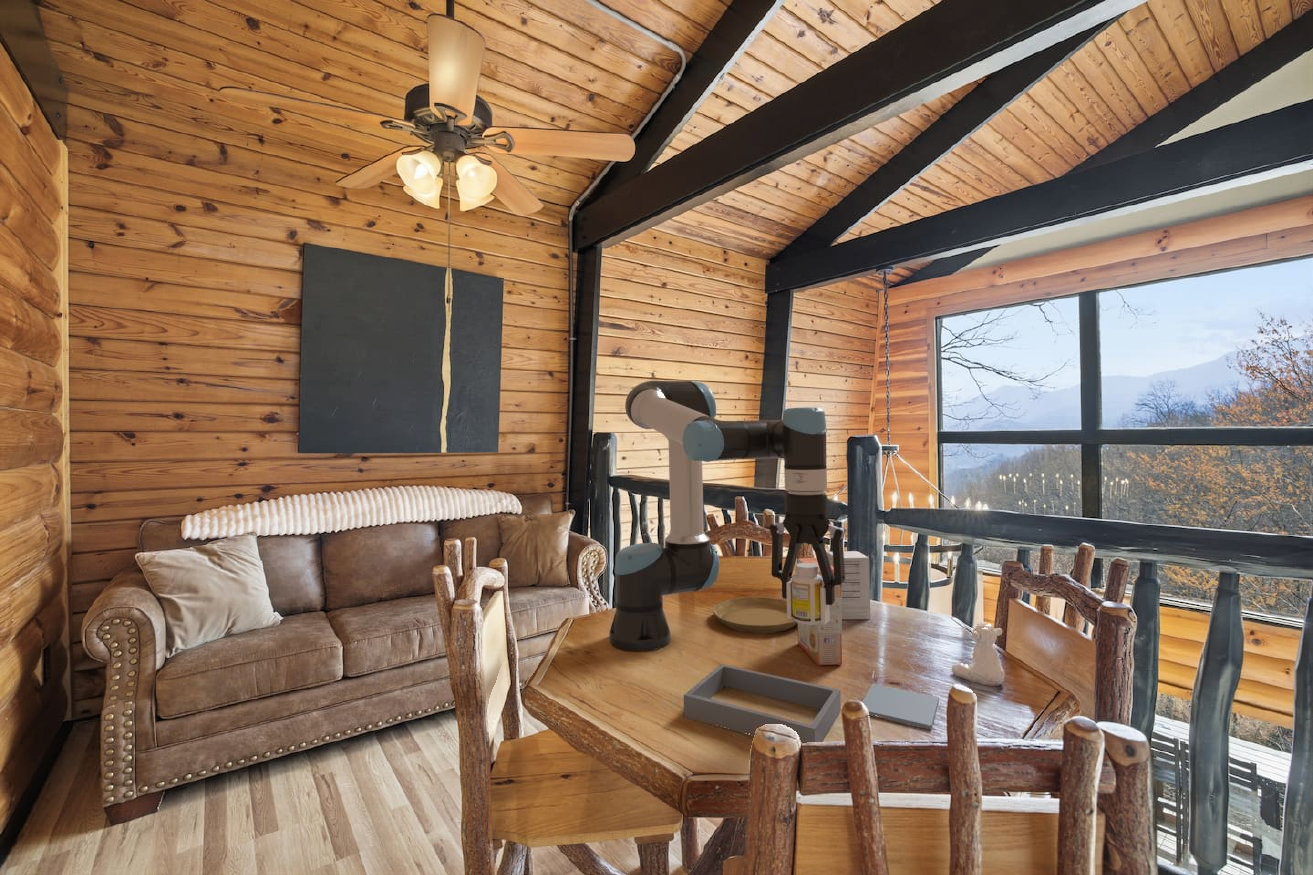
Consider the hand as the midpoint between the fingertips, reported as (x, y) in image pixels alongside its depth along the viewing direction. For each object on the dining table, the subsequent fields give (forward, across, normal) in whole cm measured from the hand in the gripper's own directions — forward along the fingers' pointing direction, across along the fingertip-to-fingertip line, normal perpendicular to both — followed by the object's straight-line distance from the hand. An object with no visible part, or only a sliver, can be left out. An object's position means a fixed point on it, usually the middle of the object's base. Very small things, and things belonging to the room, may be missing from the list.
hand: (808, 618), depth 105 cm
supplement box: (+17, -9, +60) cm, 63 cm away
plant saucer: (+17, -29, +43) cm, 54 cm away
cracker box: (+17, -7, +28) cm, 34 cm away
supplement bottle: (+1, 0, 0) cm, 1 cm away
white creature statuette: (+18, +26, +32) cm, 45 cm away
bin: (+17, -7, -5) cm, 19 cm away
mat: (+17, +13, +11) cm, 24 cm away
